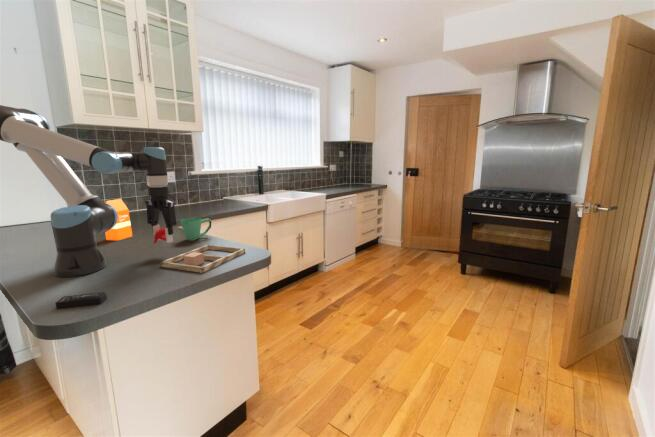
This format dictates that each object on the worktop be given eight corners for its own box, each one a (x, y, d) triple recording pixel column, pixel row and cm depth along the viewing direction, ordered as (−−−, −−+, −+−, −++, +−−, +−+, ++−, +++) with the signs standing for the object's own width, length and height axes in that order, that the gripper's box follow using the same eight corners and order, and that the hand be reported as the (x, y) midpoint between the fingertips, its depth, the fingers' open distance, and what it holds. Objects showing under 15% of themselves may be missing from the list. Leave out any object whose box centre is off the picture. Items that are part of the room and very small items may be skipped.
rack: (202, 272, 112) (201, 268, 112) (161, 266, 120) (160, 262, 119) (245, 252, 135) (245, 248, 135) (208, 248, 143) (207, 244, 142)
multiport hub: (101, 305, 90) (99, 297, 89) (55, 310, 87) (54, 303, 87) (107, 298, 94) (106, 291, 94) (64, 303, 91) (63, 296, 91)
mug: (184, 242, 152) (182, 222, 150) (180, 238, 160) (178, 219, 158) (215, 237, 161) (213, 218, 159) (210, 234, 169) (208, 215, 167)
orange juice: (105, 239, 161) (99, 201, 158) (120, 235, 170) (115, 198, 166) (118, 240, 160) (112, 201, 156) (132, 236, 168) (127, 198, 164)
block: (194, 267, 119) (193, 257, 118) (184, 265, 121) (183, 255, 120) (204, 262, 123) (203, 253, 123) (194, 261, 125) (193, 252, 124)
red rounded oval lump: (170, 231, 138) (156, 225, 134) (175, 228, 134) (161, 223, 130) (163, 248, 134) (149, 243, 131) (169, 246, 130) (154, 241, 127)
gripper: (183, 186, 128) (188, 241, 133) (149, 184, 135) (154, 237, 140) (168, 188, 121) (173, 246, 126) (132, 186, 128) (139, 241, 133)
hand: (163, 241), depth 133 cm, fingers closed on red rounded oval lump, 6 cm apart
